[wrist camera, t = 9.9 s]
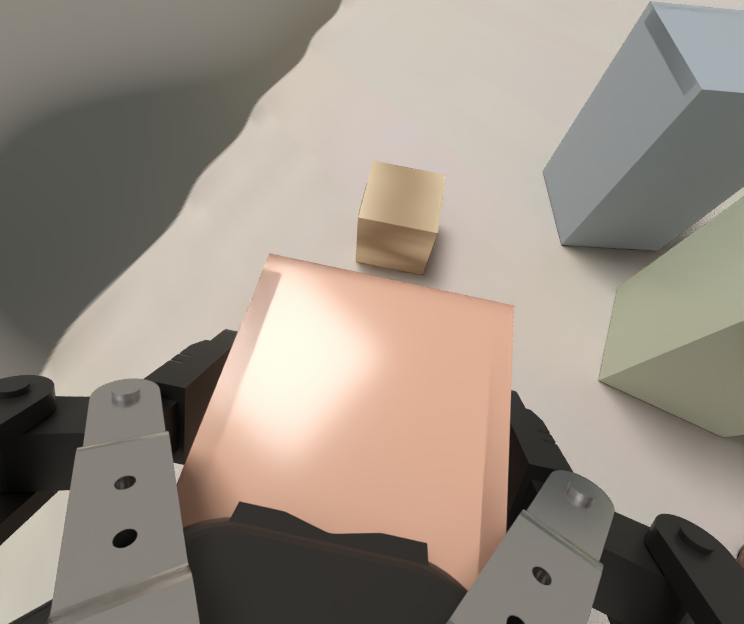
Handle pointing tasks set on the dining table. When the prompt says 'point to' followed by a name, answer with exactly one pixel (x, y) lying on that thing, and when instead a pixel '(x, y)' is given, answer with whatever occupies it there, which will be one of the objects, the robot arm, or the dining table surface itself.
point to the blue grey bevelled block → (655, 133)
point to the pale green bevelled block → (686, 329)
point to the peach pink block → (363, 413)
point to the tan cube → (399, 217)
